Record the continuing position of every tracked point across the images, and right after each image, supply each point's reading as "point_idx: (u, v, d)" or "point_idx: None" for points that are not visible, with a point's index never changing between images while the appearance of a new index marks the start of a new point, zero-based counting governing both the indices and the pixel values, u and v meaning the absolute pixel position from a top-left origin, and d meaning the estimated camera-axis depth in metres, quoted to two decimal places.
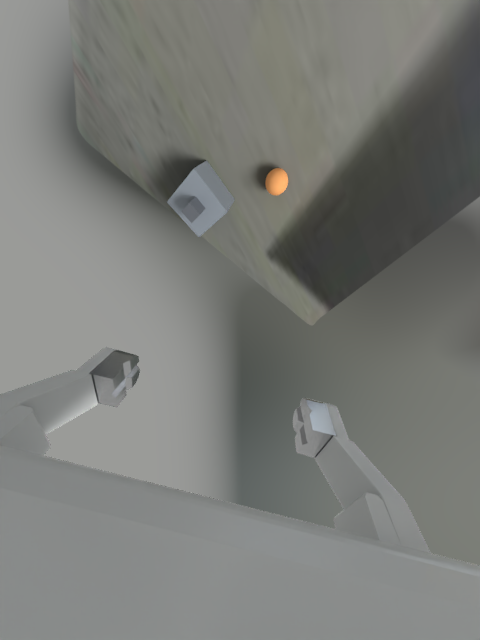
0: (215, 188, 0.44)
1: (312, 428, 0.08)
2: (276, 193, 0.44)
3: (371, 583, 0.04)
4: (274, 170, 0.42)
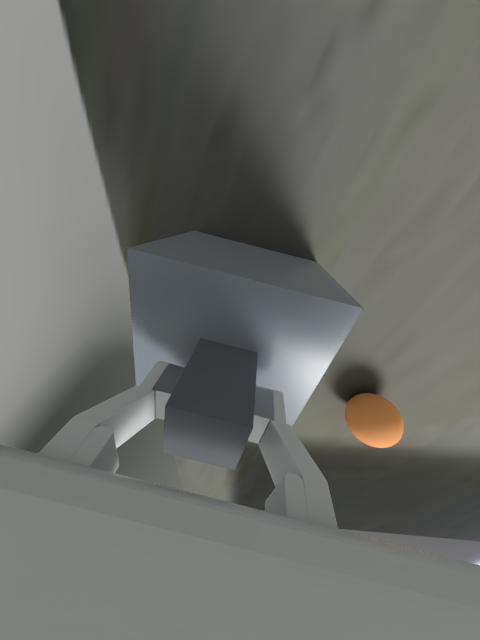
0: None
1: None
2: (362, 441, 0.19)
3: (371, 583, 0.04)
4: (397, 414, 0.18)
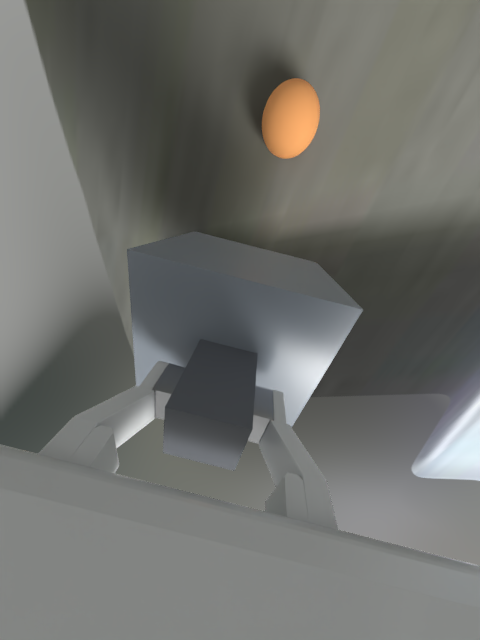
0: None
1: None
2: (275, 136, 0.17)
3: (371, 583, 0.04)
4: None
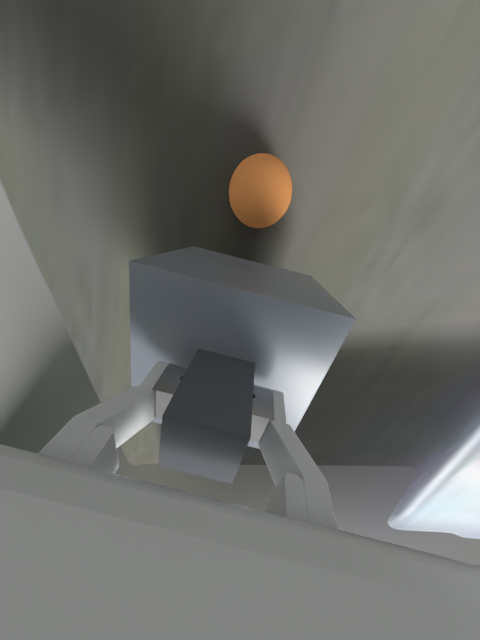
0: None
1: None
2: None
3: (371, 583, 0.04)
4: None
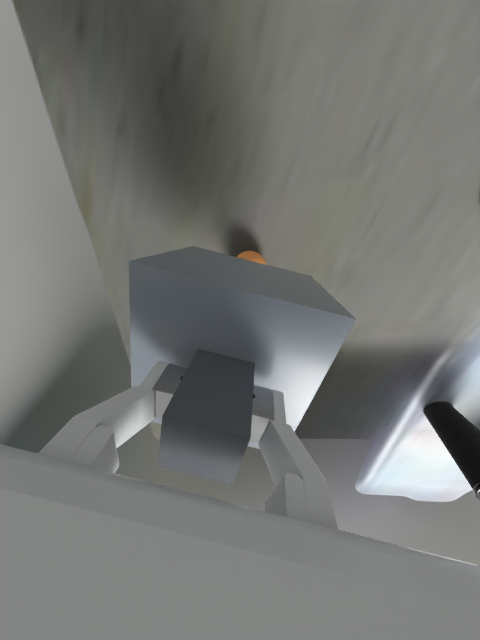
0: None
1: None
2: None
3: (371, 583, 0.04)
4: None
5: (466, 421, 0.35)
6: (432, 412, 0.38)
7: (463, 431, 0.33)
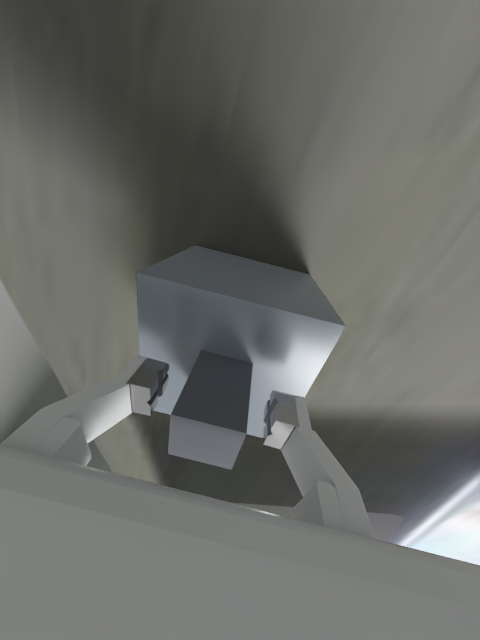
0: None
1: (275, 419, 0.08)
2: None
3: (371, 583, 0.04)
4: None
5: None
6: None
7: None
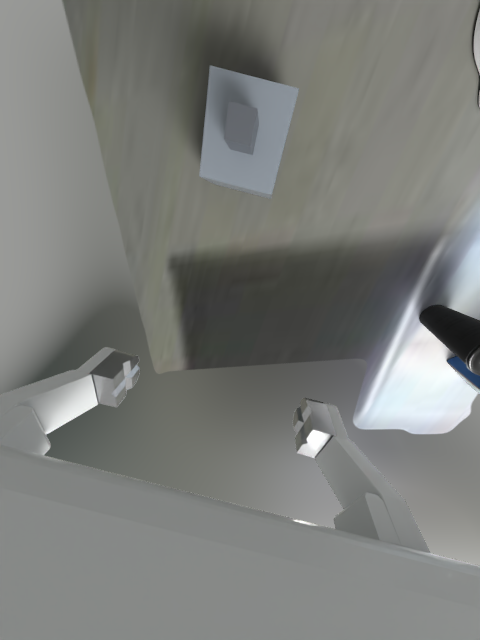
0: None
1: (311, 428, 0.08)
2: None
3: (371, 583, 0.04)
4: None
5: (460, 313, 0.36)
6: (428, 314, 0.39)
7: (457, 318, 0.34)
